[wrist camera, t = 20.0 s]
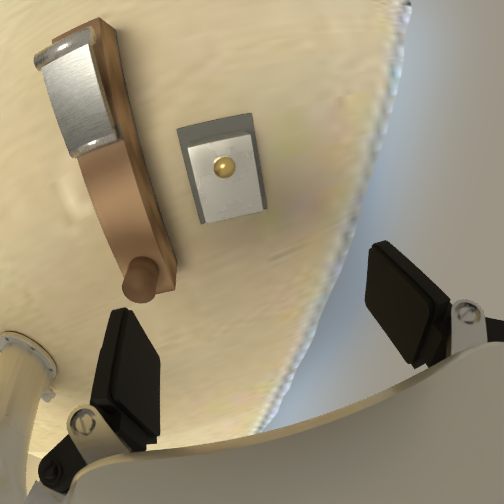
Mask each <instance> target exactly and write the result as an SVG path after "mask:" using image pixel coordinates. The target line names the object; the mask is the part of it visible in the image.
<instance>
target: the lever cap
mask: <svg viewBox="0 0 504 504" xmlns="http://www.w3.org/2000/svg"><path fill="white" fill-rule="evenodd" d="M188 152H189V157H190V161H191V165H192V169H193V173H194V177H195V182H196V186H197V190H198V194H199V198H200V202H201V205H202V209H203V213H204V217H205V221H206V224H208V223H212V222H217V221H221V220H225V219H230V218H234V217H238V216H243V215H247V214H252V213H256V212H261V211H263V207H262V200H261V194H260V188H259V182H258V176H257V170H256V164H255V158H254V152H253V146H252V140H251V135H250V134H249V133H247V132H246V131H244V130H242V131H237V132H232V133H227V134H222V135H217V136H213V137H208V138H204V139H200V140H195V141H191V142H189V144H188Z"/></svg>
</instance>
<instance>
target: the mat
mask: <svg viewBox="0 0 504 504" xmlns="http://www.w3.org/2000/svg"><path fill="white" fill-rule="evenodd" d="M242 130H244V131H246V132H247V133H249V134H250V135H251V140H252V146H253V152H254V158H255V164H256V170H257V176H258V182H259V188H260V194H261V200H262V207H263V210H264V209H267V204H266V198H265V191H264V185H263V179H262V173H261V167H260V161H259V155H258V149H257V143H256V138H255V132H254V126H253V120H252V115H251V113H247V114H242V115H237V116H231V117H226V118H221V119H217V120H212V121H208V122H203V123H199V124H195V125H191V126H187V127H183V128H179V129H177V133H178V137H179V141H180V145H181V150H182V154H183V158H184V162H185V166H186V170H187V174H188V177H189V181H190V185H191V189H192V193H193V197H194V200H195V204H196V208H197V211H198V215H199V219H200V222H201V224H204V223H206V221H205V217H204V213H203V209H202V205H201V202H200V198H199V194H198V190H197V186H196V182H195V177H194V173H193V169H192V165H191V161H190V157H189V152H188V144H189V142H191V141H195V140H200V139H204V138H208V137H213V136H217V135H222V134H227V133H232V132H237V131H242Z"/></svg>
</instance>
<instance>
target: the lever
mask: <svg viewBox="0 0 504 504" xmlns="http://www.w3.org/2000/svg"><path fill="white" fill-rule="evenodd" d="M95 43H96V34H95V31H94V29H93V27H92V26H88V27H86V28H84V29H82V30H80V31H77V32H75V33H73V34H71V35H69V36H67V37H65V38H63V39H61V40H60V41H58V42H56V43H54V44H52V45H50V46H49V47H47V48H45V49H43V50H42V51H40V52H38V53H37V54H35V56H34V64H35V67H36V68H37V69H38V70H39V71H42V74H43V77H44V81H45V84H46V88H47V91H48V94H49V98H50V101H51V104H52V107H53V110H54V113H55V116H56V119H57V122H58V124H59V127H60V130H61V133H62V135H63V138H64V141H65V143H66V146H67V148H68V151H69V154H70V156H71V157H72V158H74V157H77V156H79V155H81V154H84V153H86V152H89V151H91V150H94V149H96V148H99V147H101V146H104V145H107V144H109V143H112V142H115V141H118V132H117V130H116V127H115V124H114V121H113V117H112V114H111V111H110V108H109V104H108V101H107V98H106V94H105V91H104V87H103V84H102V80H101V77H100V73H99V69H98V65H97V61H96V57H95V53H94V49H93V45H94V44H95Z"/></svg>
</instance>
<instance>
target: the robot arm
mask: <svg viewBox="0 0 504 504" xmlns="http://www.w3.org/2000/svg"><path fill="white" fill-rule="evenodd" d="M365 303H366V307H367V308H368V309H369V311H370V312H371V314H372V315H373V316H374V318H375V319H376V320H377V322H378V323H379V324H380V326H381V327H382V329H383V330H384V331H385V333H386V334H387V336H388V337H389V338H390V340H391V341H392V343H393V344H394V345H395V347H396V348H397V350H398V351H399V352H400V354H401V355H402V357H403V358H404V360H405V361H406V362H407V363H408V364H411V365H412V366H413V367H414V369H416V368H418V367H420V366H421V365H423V364H425V363H426V365H427V366H428V369H426V370H424V371H422V372H420V373H418V374H417V375H415V376H412V377H411V378H409V379H407V380H405V381H403V382H401V383H399V384H396V385H394V386H392V387H390V388H388V389H386V390H384V391H382V392H379V393H377V394H375V395H373V396H370V397H368V398H366V399H363V400H361V401H358V402H356V403H353V404H351V405H348V406H346V407H343V408H341V409H338V410H335V411H333V412H330V413H327V414H324V415H321V416H318V417H315V418H312V419H309V420H306V421H303V422H300V423H296V424H293V425H290V426H286V427H283V428H279V429H275V430H271V431H267V432H263V433H259V434H255V435H250V436H246V437H241V438H236V439H231V440H226V441H221V442H215V443H209V444H202V445H195V446H188V447H181V448H172V449H163V450H151V451H146V444H157V436H159V435H160V358H159V355H158V354H157V352H156V350H155V349H154V347H153V345H152V344H151V342H150V340H149V339H148V337H147V335H146V334H145V332H144V330H143V328H142V327H141V325H140V323H139V321H138V320H137V318H136V316H135V314H134V313H133V311H132V310H128V309H127V308H125V307H124V308H120V309H115V310H112V311H111V314H110V317H109V321H108V325H107V329H106V333H105V337H104V341H103V345H102V348H101V350H100V354H99V358H98V363H97V367H96V372H95V377H94V382H93V388H92V393H91V399H90V405H81V406H78V407H77V408H75V409H74V410H73V411H72V412H71V413H70V415H69V417H68V420H67V431H68V433H69V434H68V435H67V436H66V437H65V438H64V439H63V440H62V441H61V442H60V443H59V444H57V445H56V446H55V447H54V448H53V449H52V450H51V451H50V452H49V453H48V454H47V455H46V456H45V457H44V458H43V459H42V460H41V462H40V464H39V468H38V474H39V478H40V481H39V482H38V481H35V483H34V485H33V487H32V489H31V491H30V492H29V495H28V496H27V490H26V463H27V456H28V450H29V444H30V439H31V434H32V430H33V425H34V421H35V417H36V412H37V409H38V405H39V401H40V397H41V398H42V399H43V400H44V401H45V402H49V401H50V400H51V398H54V397H55V395H56V394H55V392H54V391H53V390H52V389H50V388H49V382H50V381H52V380H53V379H54V378H55V376H56V372H57V369H56V365H55V363H54V361H53V360H52V358H51V357H50V356H49V354H48V353H47V352H46V351H45V350H44V349H43V348H42V347H40V346H39V345H38V344H37V343H35V342H34V341H32V340H31V339H29V338H27V337H26V336H23V335H21V334H18V333H15V332H4V333H2V334H1V335H0V353H1V354H0V504H504V321H502V320H497V319H491V318H487V317H485V315H484V312H483V310H482V308H481V307H480V306H479V305H478V304H477V303H475V302H473V301H470V300H464V299H463V300H458V301H456V302H455V303H454V304H453V305H452V304H451V303H450V298H449V297H448V296H447V295H446V294H445V293H444V292H443V291H442V290H441V289H440V288H439V287H438V286H437V285H436V284H435V283H433V282H432V281H431V280H430V279H429V278H428V277H427V276H426V275H425V274H424V273H423V272H422V271H421V270H420V269H419V268H418V267H416V266H415V265H414V264H413V263H412V262H411V261H410V260H409V259H408V258H406V257H405V256H404V255H403V254H402V253H401V252H399V251H398V250H397V249H396V248H395V247H394V246H393V245H392V244H390V243H389V242H388V241H386V240H385V241H381V242H378V243H374V244H373V245H372V248H370V249H369V256H368V270H367V283H366V292H365Z"/></svg>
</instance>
